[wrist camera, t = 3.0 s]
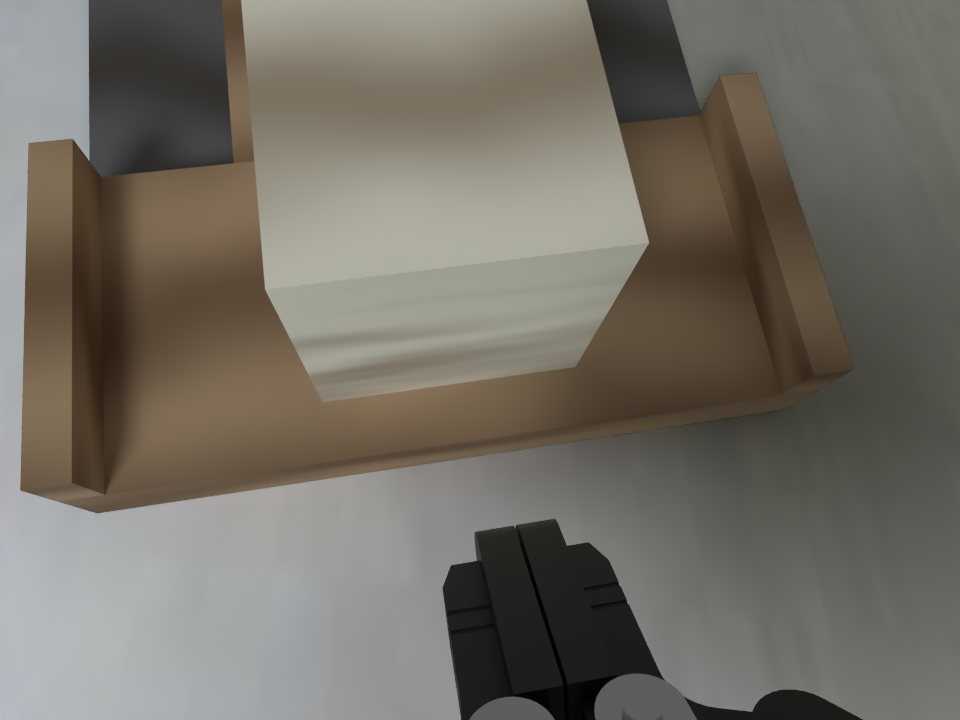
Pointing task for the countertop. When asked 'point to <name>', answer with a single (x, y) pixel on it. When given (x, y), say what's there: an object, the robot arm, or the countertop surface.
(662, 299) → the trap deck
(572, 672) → the robot arm
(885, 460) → the countertop surface
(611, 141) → the block
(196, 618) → the countertop surface
